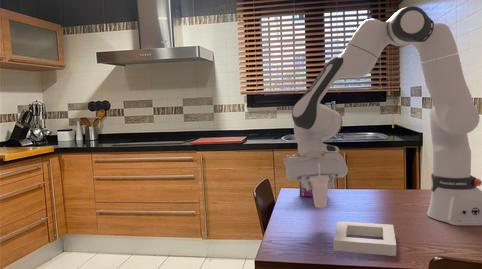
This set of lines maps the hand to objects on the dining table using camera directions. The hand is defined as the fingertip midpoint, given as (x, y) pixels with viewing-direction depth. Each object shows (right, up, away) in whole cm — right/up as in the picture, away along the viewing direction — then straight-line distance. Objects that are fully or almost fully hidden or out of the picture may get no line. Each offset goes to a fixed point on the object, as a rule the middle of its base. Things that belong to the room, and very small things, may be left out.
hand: (320, 188), depth 127 cm
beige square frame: (+10, -13, -14) cm, 21 cm away
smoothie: (0, -6, +1) cm, 6 cm away
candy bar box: (+4, -8, +37) cm, 38 cm away
